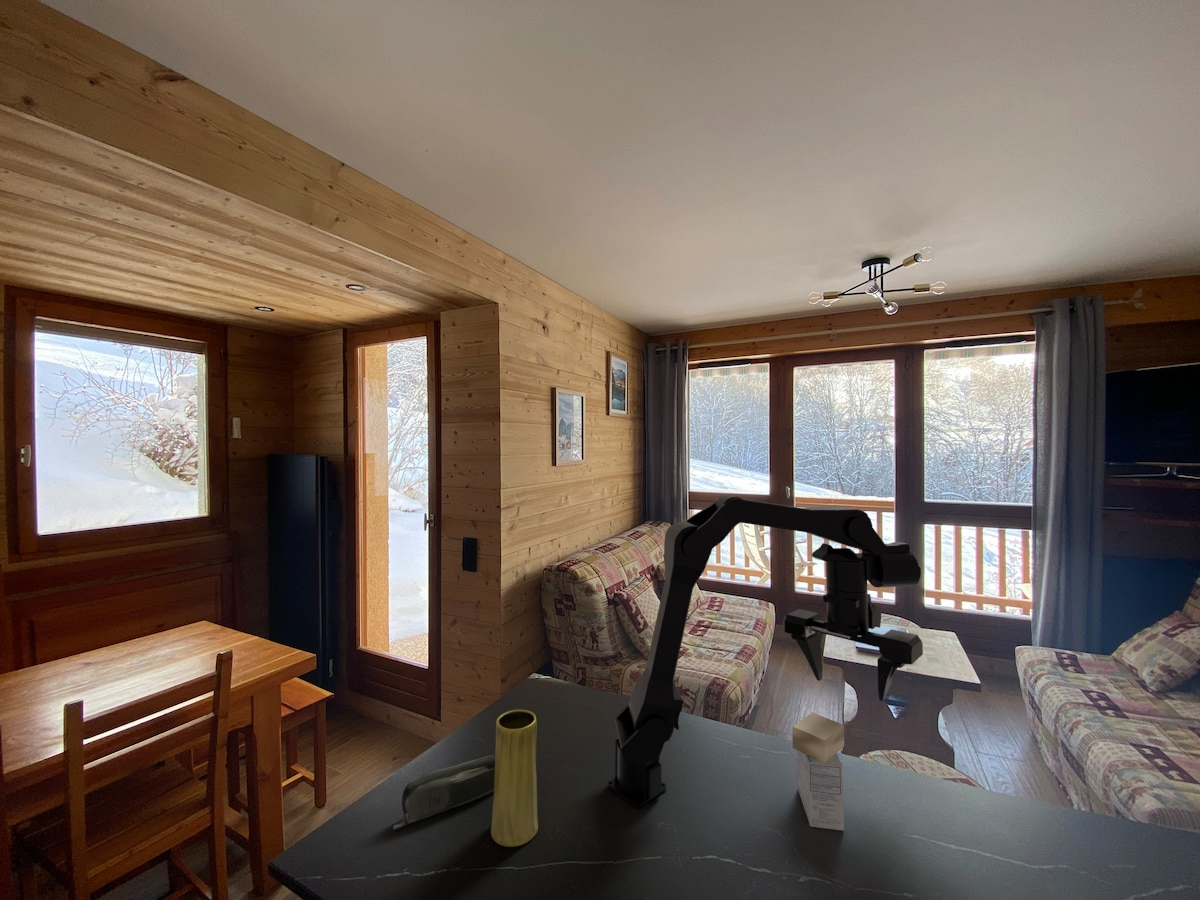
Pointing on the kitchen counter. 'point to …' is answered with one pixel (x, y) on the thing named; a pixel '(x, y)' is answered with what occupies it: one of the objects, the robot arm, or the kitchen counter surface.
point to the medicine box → (821, 791)
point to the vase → (515, 779)
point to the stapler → (447, 789)
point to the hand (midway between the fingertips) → (849, 689)
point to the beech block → (818, 737)
